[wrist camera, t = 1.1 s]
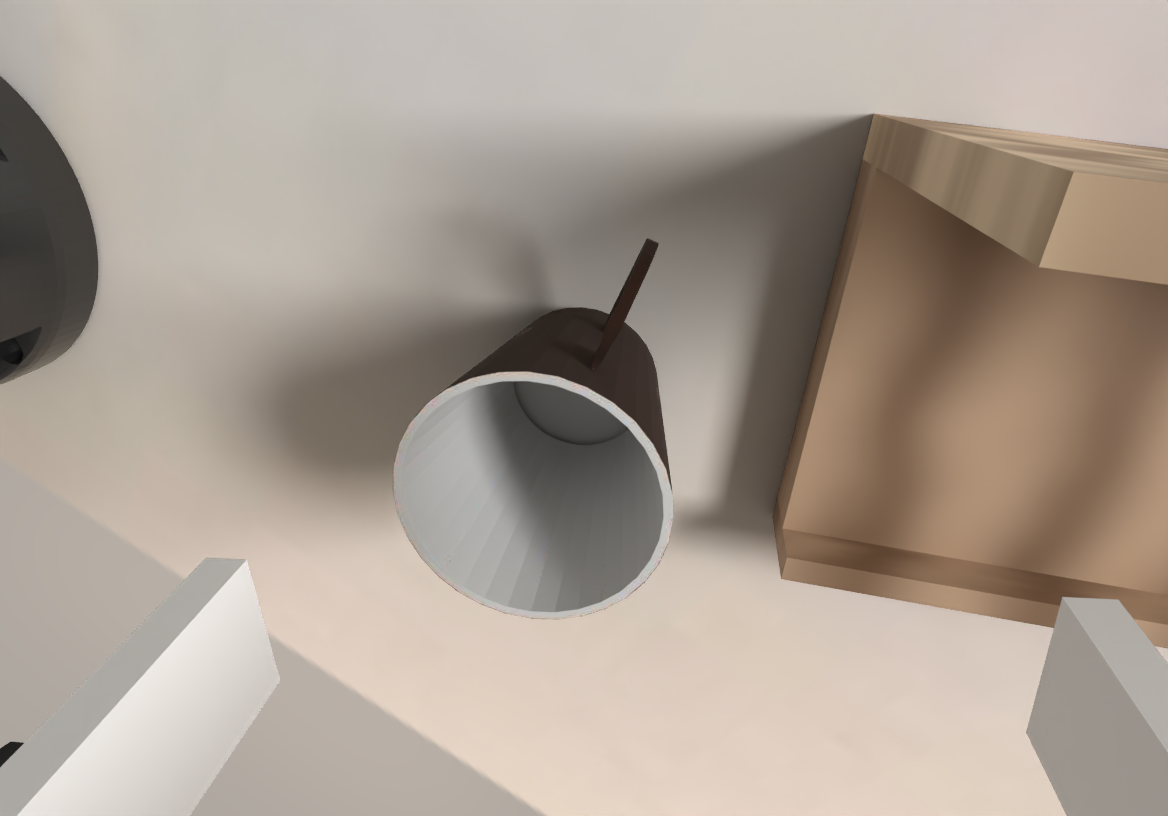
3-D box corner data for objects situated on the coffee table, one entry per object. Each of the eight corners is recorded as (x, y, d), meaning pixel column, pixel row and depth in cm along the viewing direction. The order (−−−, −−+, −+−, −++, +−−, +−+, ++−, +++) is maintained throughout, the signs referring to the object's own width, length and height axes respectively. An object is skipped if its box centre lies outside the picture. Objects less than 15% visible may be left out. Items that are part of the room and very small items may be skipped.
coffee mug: (571, 504, 34) (522, 659, 25) (441, 363, 33) (337, 476, 24) (789, 357, 30) (822, 481, 21) (653, 184, 28) (625, 239, 19)
